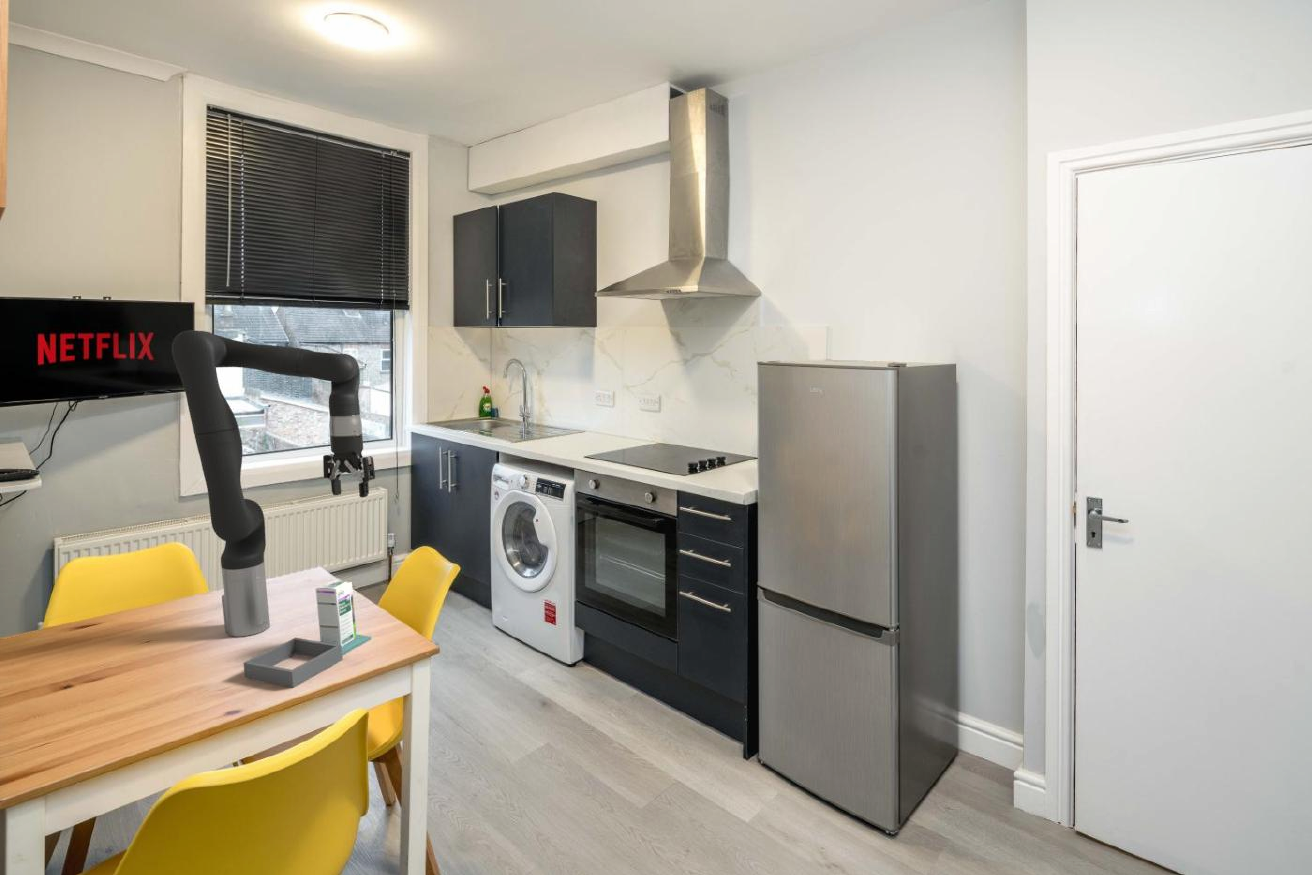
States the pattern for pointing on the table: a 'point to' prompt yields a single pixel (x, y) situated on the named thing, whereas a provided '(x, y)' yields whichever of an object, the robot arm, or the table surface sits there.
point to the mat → (355, 643)
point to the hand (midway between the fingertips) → (350, 495)
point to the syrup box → (336, 612)
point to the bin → (324, 658)
